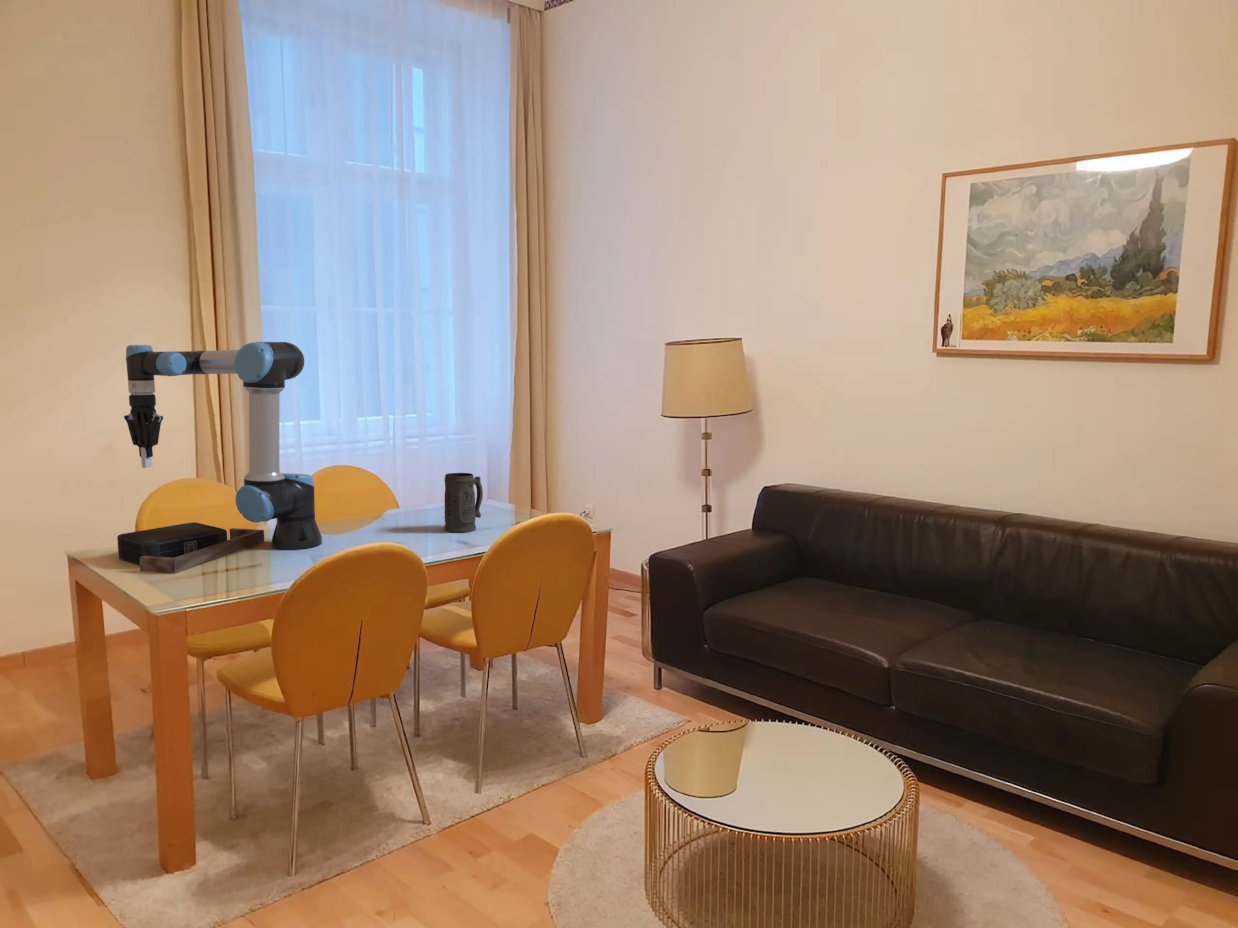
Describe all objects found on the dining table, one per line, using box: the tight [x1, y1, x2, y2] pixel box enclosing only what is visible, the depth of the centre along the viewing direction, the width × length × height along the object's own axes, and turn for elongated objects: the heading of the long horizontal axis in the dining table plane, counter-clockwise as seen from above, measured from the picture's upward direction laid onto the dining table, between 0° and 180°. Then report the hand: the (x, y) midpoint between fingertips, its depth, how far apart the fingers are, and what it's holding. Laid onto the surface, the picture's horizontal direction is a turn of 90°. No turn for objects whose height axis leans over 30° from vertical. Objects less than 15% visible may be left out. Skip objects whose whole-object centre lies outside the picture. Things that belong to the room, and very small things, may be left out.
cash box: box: [116, 521, 228, 566], centre depth 278 cm, size 25×20×8 cm
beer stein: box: [444, 472, 484, 534], centre depth 318 cm, size 15×11×20 cm
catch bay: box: [139, 527, 265, 574], centre depth 278 cm, size 12×41×4 cm, turn 166°
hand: (146, 467), depth 294 cm, fingers closed
